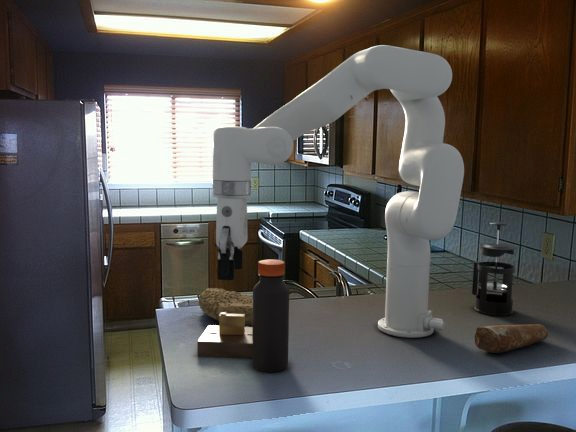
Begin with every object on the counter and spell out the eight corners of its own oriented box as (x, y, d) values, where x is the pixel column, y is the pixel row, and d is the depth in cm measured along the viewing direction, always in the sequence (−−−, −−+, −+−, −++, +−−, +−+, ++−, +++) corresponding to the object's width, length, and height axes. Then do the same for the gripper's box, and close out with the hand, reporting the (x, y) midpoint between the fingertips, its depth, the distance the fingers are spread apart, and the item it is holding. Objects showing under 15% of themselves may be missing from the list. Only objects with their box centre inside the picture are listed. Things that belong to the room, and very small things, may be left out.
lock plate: (264, 340, 119) (264, 326, 119) (257, 358, 109) (258, 343, 109) (208, 338, 120) (208, 324, 120) (197, 355, 110) (197, 340, 110)
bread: (470, 350, 116) (472, 323, 115) (532, 336, 125) (534, 312, 124) (495, 360, 110) (496, 333, 110) (557, 345, 119) (559, 320, 119)
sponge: (193, 316, 139) (212, 324, 120) (197, 285, 140) (217, 288, 121) (243, 321, 143) (269, 329, 125) (247, 291, 144) (273, 294, 126)
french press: (523, 313, 142) (529, 223, 139) (499, 319, 137) (505, 226, 134) (484, 302, 152) (490, 218, 149) (461, 307, 147) (466, 220, 144)
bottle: (259, 375, 101) (260, 267, 99) (247, 361, 107) (247, 259, 105) (293, 369, 104) (295, 264, 102) (279, 357, 110) (281, 257, 108)
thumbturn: (244, 332, 115) (244, 312, 114) (243, 335, 113) (243, 315, 113) (220, 331, 115) (220, 311, 115) (219, 334, 114) (219, 314, 113)
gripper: (243, 193, 102) (241, 285, 104) (256, 187, 119) (254, 266, 121) (203, 192, 103) (202, 283, 105) (221, 186, 120) (220, 264, 122)
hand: (230, 274), depth 113 cm, fingers open, 9 cm apart
